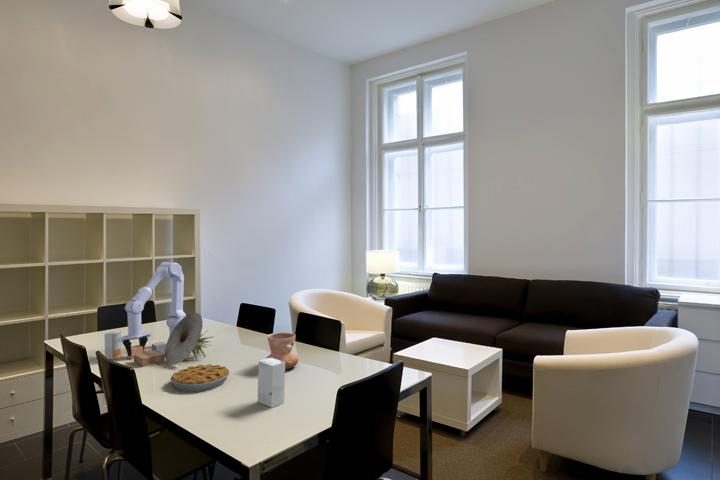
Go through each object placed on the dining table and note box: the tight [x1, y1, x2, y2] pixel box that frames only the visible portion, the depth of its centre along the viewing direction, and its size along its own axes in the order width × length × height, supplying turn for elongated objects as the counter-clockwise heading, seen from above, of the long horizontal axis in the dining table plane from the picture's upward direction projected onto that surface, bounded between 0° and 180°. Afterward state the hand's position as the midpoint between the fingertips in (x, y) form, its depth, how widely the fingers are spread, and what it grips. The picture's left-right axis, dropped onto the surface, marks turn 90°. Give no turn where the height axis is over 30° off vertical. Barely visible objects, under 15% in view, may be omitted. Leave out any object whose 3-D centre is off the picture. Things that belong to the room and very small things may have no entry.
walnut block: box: [133, 350, 166, 368], centre depth 204 cm, size 10×10×4 cm
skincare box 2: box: [257, 357, 286, 408], centre depth 156 cm, size 8×6×15 cm
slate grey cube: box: [151, 341, 167, 354], centre depth 218 cm, size 5×5×5 cm
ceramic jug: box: [265, 332, 300, 371], centre depth 195 cm, size 18×14×14 cm
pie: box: [170, 364, 231, 392], centre depth 177 cm, size 22×22×5 cm
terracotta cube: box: [127, 344, 143, 360], centre depth 212 cm, size 5×5×5 cm
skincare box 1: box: [104, 330, 122, 360], centre depth 212 cm, size 6×4×12 cm
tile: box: [143, 346, 152, 353], centre depth 222 cm, size 7×7×1 cm
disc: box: [165, 312, 213, 366], centre depth 209 cm, size 25×18×25 cm
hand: (135, 354), depth 212 cm, fingers closed on terracotta cube, 5 cm apart
